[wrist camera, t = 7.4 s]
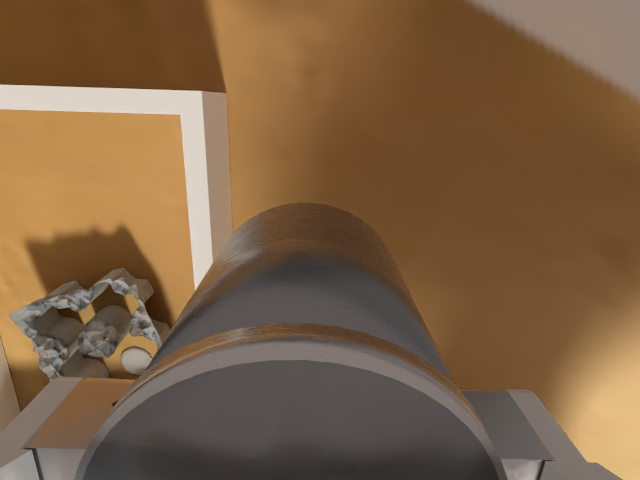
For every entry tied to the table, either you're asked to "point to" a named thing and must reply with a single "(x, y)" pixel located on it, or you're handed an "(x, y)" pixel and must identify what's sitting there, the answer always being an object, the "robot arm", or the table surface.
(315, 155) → the table surface
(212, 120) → the tote
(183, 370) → the metal tin
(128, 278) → the egg carton
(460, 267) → the table surface
